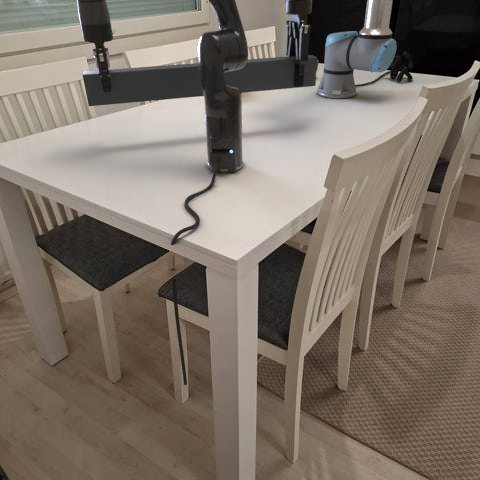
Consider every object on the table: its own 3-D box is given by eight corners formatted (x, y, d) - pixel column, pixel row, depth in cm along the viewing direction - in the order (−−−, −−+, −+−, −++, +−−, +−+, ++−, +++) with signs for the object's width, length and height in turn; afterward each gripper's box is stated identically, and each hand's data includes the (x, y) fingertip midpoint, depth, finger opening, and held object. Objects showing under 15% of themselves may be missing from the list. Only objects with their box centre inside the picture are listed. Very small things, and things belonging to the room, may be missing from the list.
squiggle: (400, 92, 202) (376, 71, 205) (417, 76, 202) (392, 56, 205) (405, 81, 191) (380, 59, 194) (423, 64, 191) (397, 42, 194)
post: (88, 106, 122) (82, 74, 118) (88, 102, 126) (82, 71, 122) (315, 86, 137) (317, 57, 133) (309, 82, 141) (311, 54, 137)
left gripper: (111, 23, 110) (122, 93, 119) (109, 18, 122) (120, 82, 130) (79, 24, 108) (93, 96, 117) (81, 19, 120) (93, 85, 129)
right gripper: (324, -1, 118) (318, 89, 131) (299, -5, 133) (296, 76, 145) (297, 1, 117) (294, 91, 129) (275, -4, 131) (274, 78, 144)
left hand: (107, 89), depth 124 cm, fingers closed on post, 4 cm apart
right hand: (295, 83), depth 137 cm, fingers closed on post, 5 cm apart
